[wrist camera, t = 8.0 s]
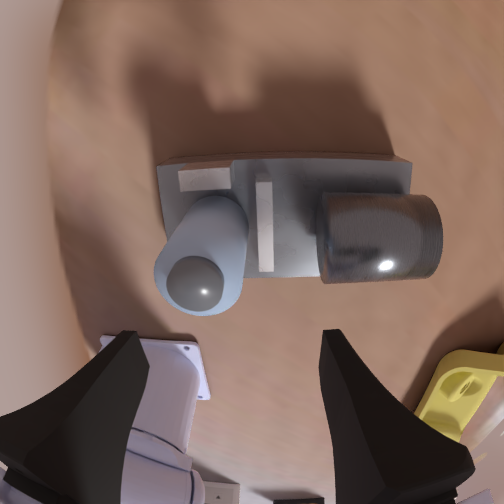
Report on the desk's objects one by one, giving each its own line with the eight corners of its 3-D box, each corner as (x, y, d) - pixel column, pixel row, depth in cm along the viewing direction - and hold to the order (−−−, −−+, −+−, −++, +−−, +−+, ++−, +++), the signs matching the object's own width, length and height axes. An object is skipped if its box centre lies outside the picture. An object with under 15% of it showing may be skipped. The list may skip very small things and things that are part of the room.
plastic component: (445, 363, 22) (525, 374, 18) (443, 321, 28) (512, 332, 24) (388, 464, 30) (450, 472, 25) (397, 425, 36) (453, 433, 31)
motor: (183, 259, 21) (153, 324, 14) (169, 158, 17) (121, 188, 11) (396, 254, 20) (438, 313, 14) (408, 156, 17) (470, 185, 10)
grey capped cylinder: (194, 260, 18) (167, 328, 12) (177, 202, 16) (135, 254, 11) (254, 250, 17) (250, 319, 12) (241, 190, 16) (229, 237, 10)
